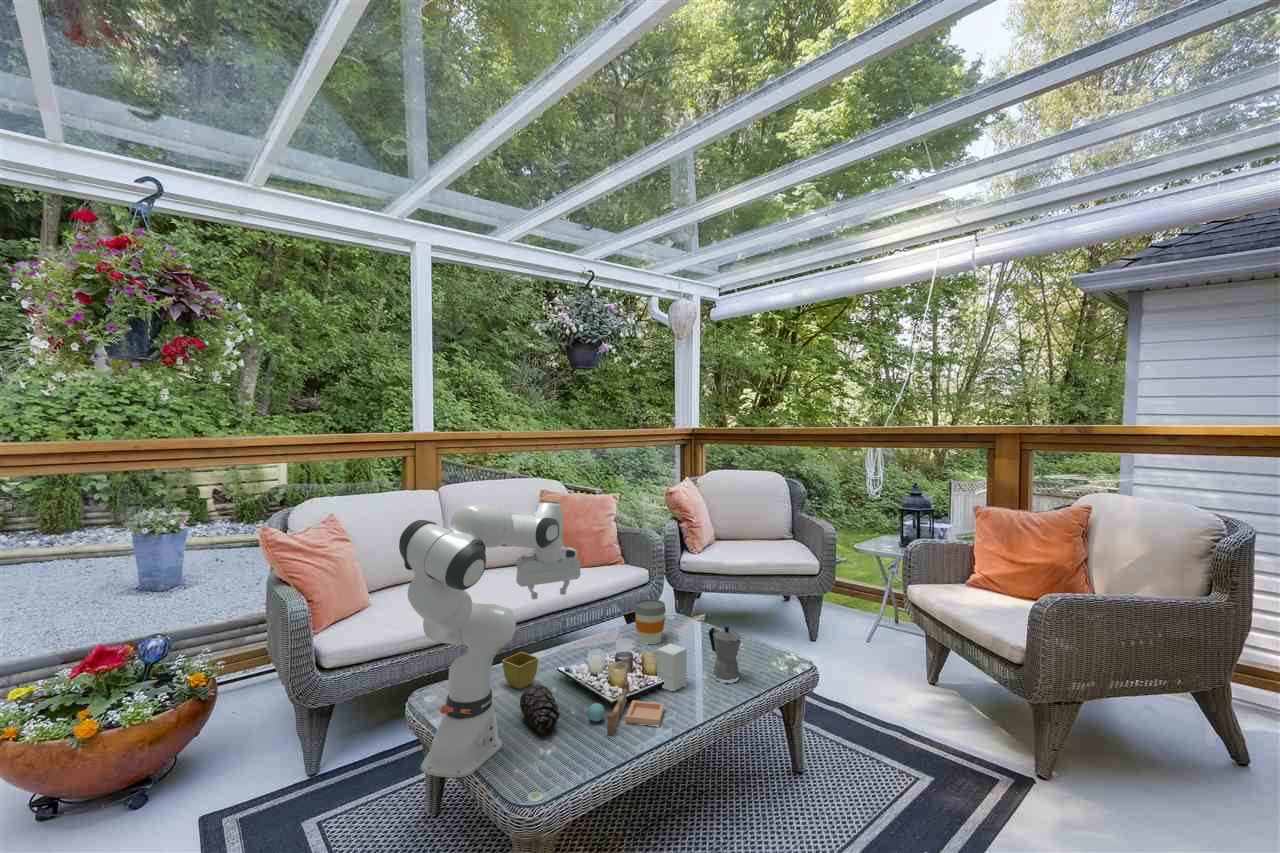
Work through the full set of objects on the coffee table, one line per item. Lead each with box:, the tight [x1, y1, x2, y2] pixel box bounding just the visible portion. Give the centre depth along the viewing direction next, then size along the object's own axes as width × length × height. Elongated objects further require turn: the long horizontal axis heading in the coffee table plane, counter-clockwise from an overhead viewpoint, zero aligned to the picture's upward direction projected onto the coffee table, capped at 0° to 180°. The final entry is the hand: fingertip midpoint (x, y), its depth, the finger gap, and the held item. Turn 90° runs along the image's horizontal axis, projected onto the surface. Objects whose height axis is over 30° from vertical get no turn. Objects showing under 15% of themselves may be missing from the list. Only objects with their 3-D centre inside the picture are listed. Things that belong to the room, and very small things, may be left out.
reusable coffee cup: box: [634, 598, 667, 644], centre depth 238 cm, size 13×13×15 cm
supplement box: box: [656, 643, 687, 692], centre depth 199 cm, size 7×7×13 cm
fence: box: [606, 681, 630, 736], centre depth 179 cm, size 22×2×6 cm, turn 169°
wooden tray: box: [625, 699, 665, 725], centre depth 179 cm, size 10×10×2 cm
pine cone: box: [519, 684, 561, 741], centre depth 174 cm, size 10×18×10 cm, turn 33°
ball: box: [587, 702, 605, 723], centre depth 176 cm, size 5×5×5 cm
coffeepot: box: [708, 626, 742, 680], centre depth 206 cm, size 15×9×18 cm, turn 36°
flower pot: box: [501, 651, 539, 690], centre depth 199 cm, size 9×9×9 cm
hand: (548, 596), depth 185 cm, fingers open, 8 cm apart
